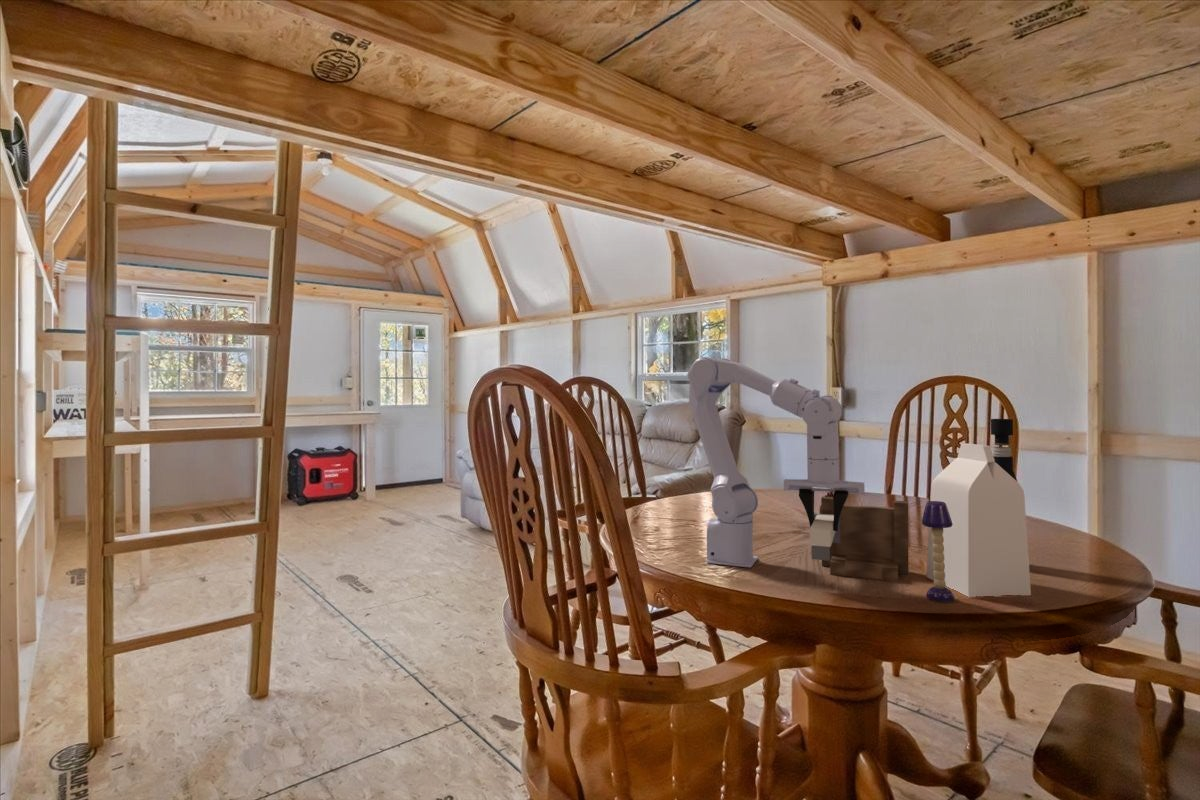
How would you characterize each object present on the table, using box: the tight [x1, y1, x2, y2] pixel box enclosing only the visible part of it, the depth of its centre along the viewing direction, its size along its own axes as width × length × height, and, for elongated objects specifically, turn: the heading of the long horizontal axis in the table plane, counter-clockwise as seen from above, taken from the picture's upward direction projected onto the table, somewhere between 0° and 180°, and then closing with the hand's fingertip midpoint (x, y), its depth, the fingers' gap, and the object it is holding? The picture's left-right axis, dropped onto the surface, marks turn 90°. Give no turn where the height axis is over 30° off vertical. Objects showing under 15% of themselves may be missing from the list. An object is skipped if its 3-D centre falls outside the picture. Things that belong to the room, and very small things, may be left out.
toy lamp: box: [921, 501, 955, 603], centre depth 105 cm, size 5×5×17 cm
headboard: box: [820, 496, 909, 582], centre depth 120 cm, size 16×8×14 cm, turn 65°
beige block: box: [809, 513, 840, 561], centre depth 116 cm, size 5×15×6 cm, turn 155°
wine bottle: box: [990, 418, 1018, 482], centre depth 125 cm, size 6×6×30 cm
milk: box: [925, 442, 1032, 598], centre depth 112 cm, size 12×12×26 cm
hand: (824, 529), depth 117 cm, fingers closed on beige block, 3 cm apart
